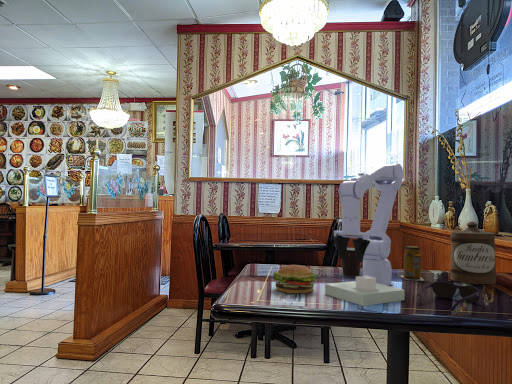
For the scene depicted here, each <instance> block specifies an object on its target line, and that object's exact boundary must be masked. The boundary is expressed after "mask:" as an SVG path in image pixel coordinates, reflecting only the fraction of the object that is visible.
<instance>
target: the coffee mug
mask: <svg viewBox="0 0 512 384" xmlns="http://www.w3.org/2000/svg"><path fill="white" fill-rule="evenodd" d="M341 265H342V269H341V270H342V275H344V276H350V277H351V276H354V277H357V276H361V275H360V273H361V265H362V262H356V259H355V248H354V247H347V255H346V259H341Z"/></svg>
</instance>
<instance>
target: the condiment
mask: <svg viewBox="0 0 512 384" xmlns="http://www.w3.org/2000/svg"><path fill="white" fill-rule="evenodd" d="M420 249H421V248H420V247H419V246H416V245H415V246H414V245H406V246H405V247H404V253H403V275H400V277H401V278H402V279H404V280H408V281H421V282H422V281H425V279H424V278H422V277H421V276H422V274H421V273H422V269H421V268H422V267H421V265H422V263H421V261H422V256H421V255H422V254H420V252H421V250H420Z"/></svg>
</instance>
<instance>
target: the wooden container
mask: <svg viewBox="0 0 512 384" xmlns="http://www.w3.org/2000/svg"><path fill="white" fill-rule="evenodd" d="M466 226H467V228H466V229H464V230H453V231H450V257H449V258H450V261H449V262H450V265H449V267H450V270H449V272H450V273H449V274H450V276H449V277H450V279H449V280H451V281H454V282H457V283H461V282H462V283H461V284H467V283H469V285H478V284H490V285H494V284H495V285H496V281H497V261H496V260H497V258H496V233H495V232H490V231H489V232H488V231H482V230H480V229H479V228H477V227H478V223H477V222H475V221H469V222H467V223H466Z"/></svg>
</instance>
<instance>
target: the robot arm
mask: <svg viewBox="0 0 512 384" xmlns="http://www.w3.org/2000/svg"><path fill="white" fill-rule="evenodd" d="M357 174H358V175H356V176H354V177H351V178H350V180H347V181H345V180H344V181H343V182H342V183H340V184H339V188H338V190H337V191H338V195H339V197H340V200H339V201H340V204H341V230H333V238H332V240H333V242H334V245H335V246H336V249H337V253H338V257H339V260H342V259H346V255H347V248H348V245H349V241H350V239H352V240H351V241H352V245H353V248H355V259H356V262H361V263H362V276H370V277H374V278H376V283H378V284H383V285H387V286H394V283H392V263H391V261H390V260H389V259H388V258H389V255H390V254H391V244H392V240H391V238H390V237H389V235H388V234H387V229H388V225H389V222H390V217H391V214H392V210H393V207H394V203H395V200H396V197H397V196H396V195H397V192H398V191H400V189H401V188H402V187H401V186H402V183H403V181H404V180H403V179H404V168H403V166H402V165H401V164H400V163H398V162H397V163H391V164H375V165H373V166H372V167H371V169H370V170H369V171H368V172H364V171H362V172H361V171H360V172H358V173H357ZM373 184H374V185H375V187H376V190H378V191H380V196H379V199H378V203H377V206H376V210H375V213H374V216H373V219H372V224H371V226H370V229H369V230H366V231H365V232H362V231H361V199H362V198H364V195H365V192H367V190H369V189H371V188H372V186H373Z"/></svg>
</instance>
